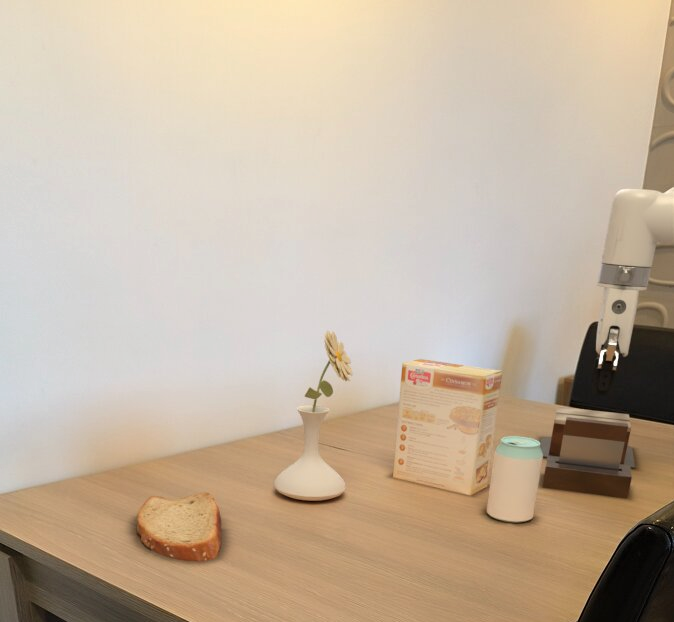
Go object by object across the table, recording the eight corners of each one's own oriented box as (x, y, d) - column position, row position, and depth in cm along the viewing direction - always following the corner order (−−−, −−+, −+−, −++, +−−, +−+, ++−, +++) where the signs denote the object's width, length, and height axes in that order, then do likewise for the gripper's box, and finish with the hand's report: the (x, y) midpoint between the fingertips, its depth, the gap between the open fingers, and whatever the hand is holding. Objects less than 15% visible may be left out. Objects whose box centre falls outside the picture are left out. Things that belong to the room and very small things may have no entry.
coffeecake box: (488, 487, 140) (504, 370, 132) (470, 497, 135) (485, 375, 126) (411, 469, 147) (421, 357, 139) (391, 478, 142) (400, 362, 134)
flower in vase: (315, 512, 124) (322, 340, 114) (258, 494, 130) (260, 330, 120) (365, 493, 134) (376, 333, 123) (310, 477, 140) (317, 323, 129)
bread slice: (199, 567, 104) (199, 540, 102) (92, 536, 111) (90, 510, 109) (277, 527, 118) (278, 502, 116) (177, 501, 125) (176, 478, 124)
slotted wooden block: (625, 487, 144) (630, 465, 143) (627, 500, 138) (632, 477, 136) (544, 477, 148) (547, 455, 146) (541, 488, 141) (545, 466, 139)
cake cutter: (614, 490, 143) (627, 423, 138) (614, 494, 141) (628, 426, 136) (555, 482, 145) (566, 416, 140) (554, 486, 143) (566, 419, 138)
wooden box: (631, 449, 169) (639, 413, 165) (634, 470, 155) (643, 431, 152) (541, 439, 173) (547, 403, 170) (537, 458, 159) (543, 420, 156)
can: (526, 528, 123) (539, 449, 118) (480, 519, 125) (491, 442, 120) (536, 515, 129) (549, 439, 123) (492, 506, 131) (503, 432, 126)
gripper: (652, 283, 120) (626, 402, 127) (645, 277, 135) (623, 383, 142) (598, 279, 121) (576, 396, 129) (598, 273, 136) (578, 378, 144)
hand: (601, 389), depth 135 cm, fingers open, 9 cm apart
